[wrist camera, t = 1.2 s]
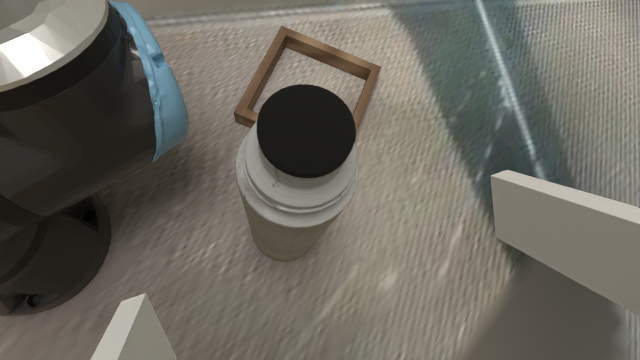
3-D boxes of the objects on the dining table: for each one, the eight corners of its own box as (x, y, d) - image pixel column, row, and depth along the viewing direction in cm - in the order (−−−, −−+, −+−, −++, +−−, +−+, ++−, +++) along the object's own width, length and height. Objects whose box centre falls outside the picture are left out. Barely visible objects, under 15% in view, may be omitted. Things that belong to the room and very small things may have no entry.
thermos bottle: (287, 186, 44) (312, 29, 18) (328, 231, 43) (420, 133, 17) (239, 226, 42) (186, 112, 16) (281, 275, 41) (303, 241, 14)
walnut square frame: (235, 121, 46) (233, 112, 44) (280, 37, 52) (281, 25, 49) (342, 165, 46) (346, 158, 44) (376, 77, 52) (381, 67, 50)
